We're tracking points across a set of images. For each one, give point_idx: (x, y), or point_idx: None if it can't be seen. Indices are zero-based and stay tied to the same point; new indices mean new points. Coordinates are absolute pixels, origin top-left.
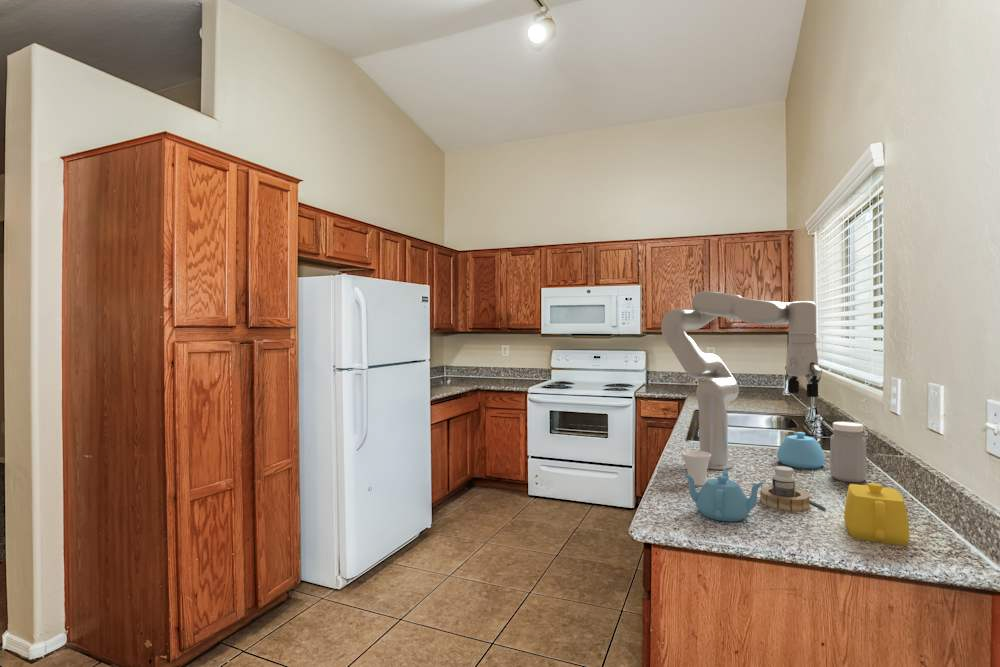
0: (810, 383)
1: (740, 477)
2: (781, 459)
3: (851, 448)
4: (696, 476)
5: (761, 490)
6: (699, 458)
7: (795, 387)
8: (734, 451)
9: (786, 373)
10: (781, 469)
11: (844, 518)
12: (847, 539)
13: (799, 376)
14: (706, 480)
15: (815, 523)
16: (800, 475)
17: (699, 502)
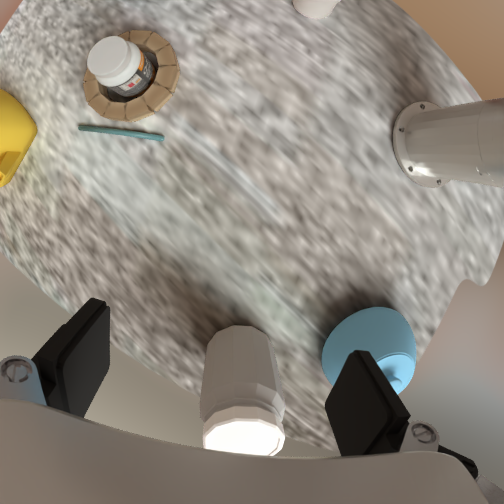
0: (12, 359)
1: (330, 121)
2: (383, 307)
3: (207, 381)
4: None
5: (156, 36)
6: None
7: (345, 414)
8: (478, 282)
9: (471, 466)
10: (100, 43)
11: (17, 103)
12: (5, 81)
13: (94, 422)
14: (302, 10)
15: (48, 71)
16: (296, 276)
17: None
